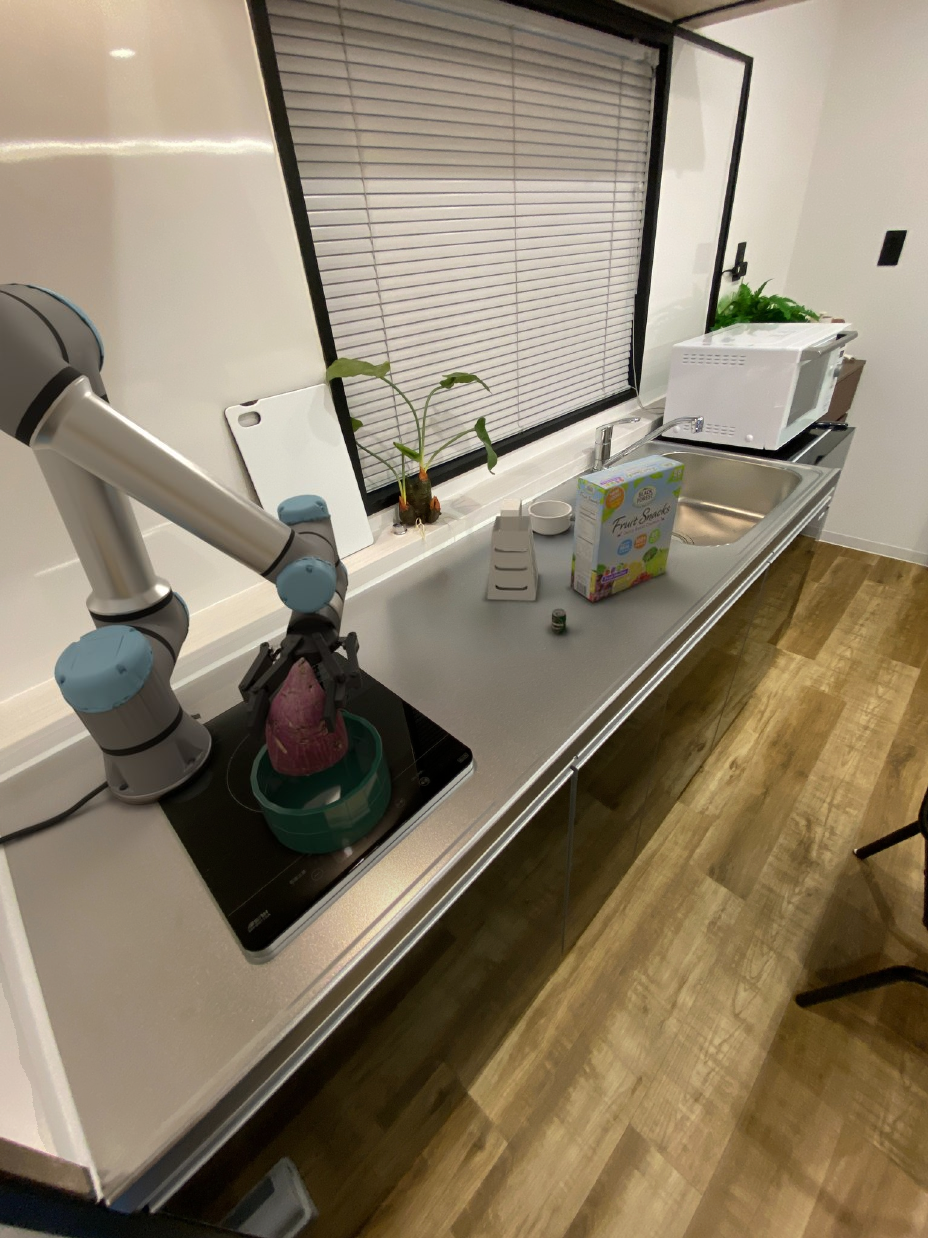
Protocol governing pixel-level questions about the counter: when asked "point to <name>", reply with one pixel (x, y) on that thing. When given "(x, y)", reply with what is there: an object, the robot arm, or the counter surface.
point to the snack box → (624, 525)
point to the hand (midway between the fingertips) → (291, 729)
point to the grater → (512, 554)
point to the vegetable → (302, 726)
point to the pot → (327, 794)
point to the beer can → (558, 621)
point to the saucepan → (550, 517)
